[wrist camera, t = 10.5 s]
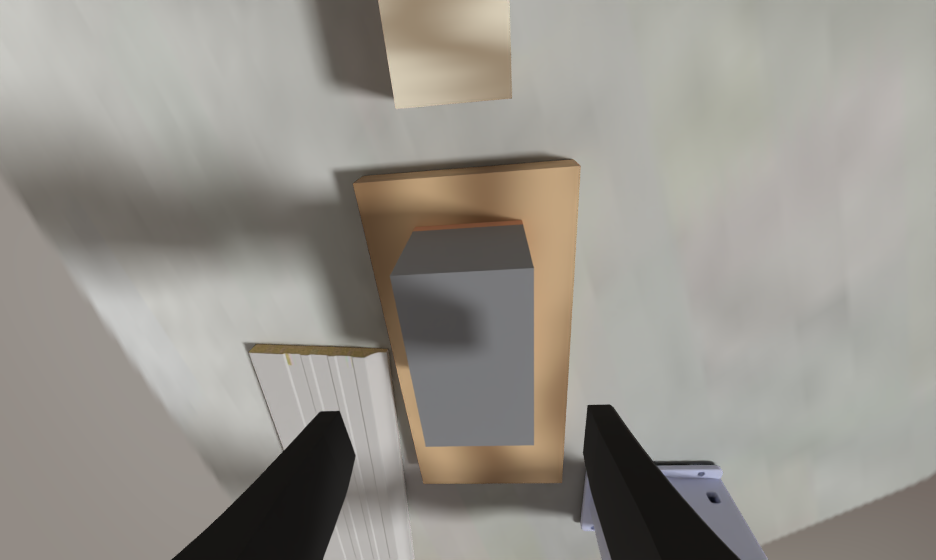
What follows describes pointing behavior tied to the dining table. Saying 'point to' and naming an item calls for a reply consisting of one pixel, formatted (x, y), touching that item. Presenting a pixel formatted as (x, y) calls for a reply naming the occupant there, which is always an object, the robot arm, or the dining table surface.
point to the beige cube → (447, 50)
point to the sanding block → (469, 332)
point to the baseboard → (370, 431)
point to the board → (553, 255)
